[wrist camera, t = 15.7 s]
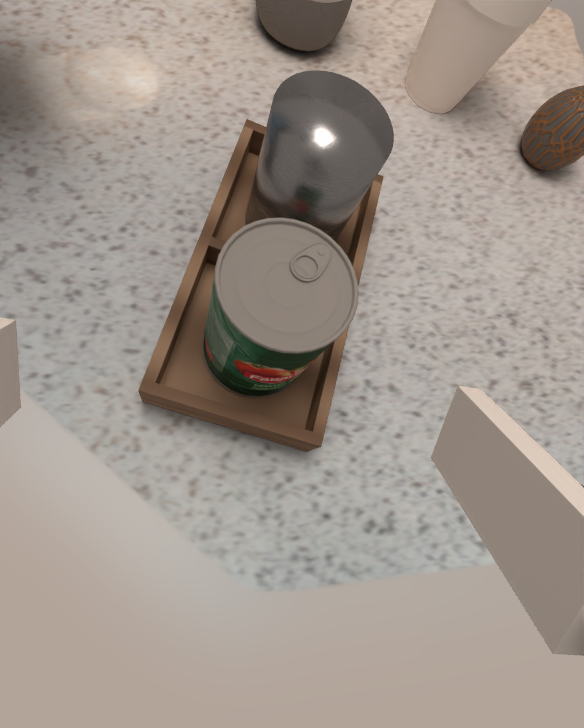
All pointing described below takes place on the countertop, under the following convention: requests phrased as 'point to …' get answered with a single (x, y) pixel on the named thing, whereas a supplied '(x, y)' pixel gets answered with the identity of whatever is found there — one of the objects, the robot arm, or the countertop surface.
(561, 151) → the vase
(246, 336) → the canned tomato
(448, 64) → the foam cup
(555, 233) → the countertop surface
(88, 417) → the countertop surface
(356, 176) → the seated cylinder
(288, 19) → the smart speaker
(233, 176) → the wooden divided tray
